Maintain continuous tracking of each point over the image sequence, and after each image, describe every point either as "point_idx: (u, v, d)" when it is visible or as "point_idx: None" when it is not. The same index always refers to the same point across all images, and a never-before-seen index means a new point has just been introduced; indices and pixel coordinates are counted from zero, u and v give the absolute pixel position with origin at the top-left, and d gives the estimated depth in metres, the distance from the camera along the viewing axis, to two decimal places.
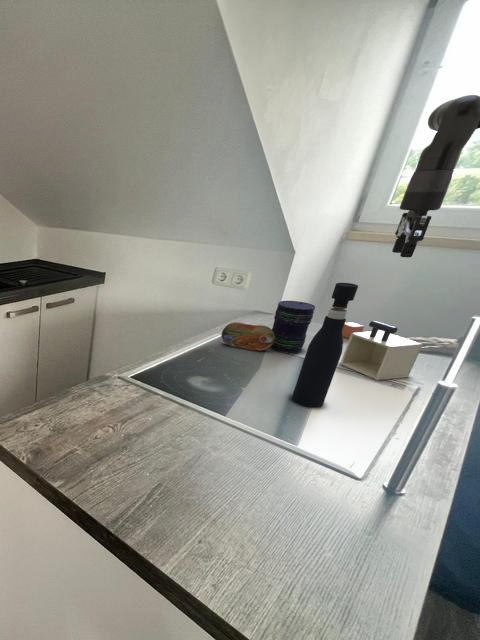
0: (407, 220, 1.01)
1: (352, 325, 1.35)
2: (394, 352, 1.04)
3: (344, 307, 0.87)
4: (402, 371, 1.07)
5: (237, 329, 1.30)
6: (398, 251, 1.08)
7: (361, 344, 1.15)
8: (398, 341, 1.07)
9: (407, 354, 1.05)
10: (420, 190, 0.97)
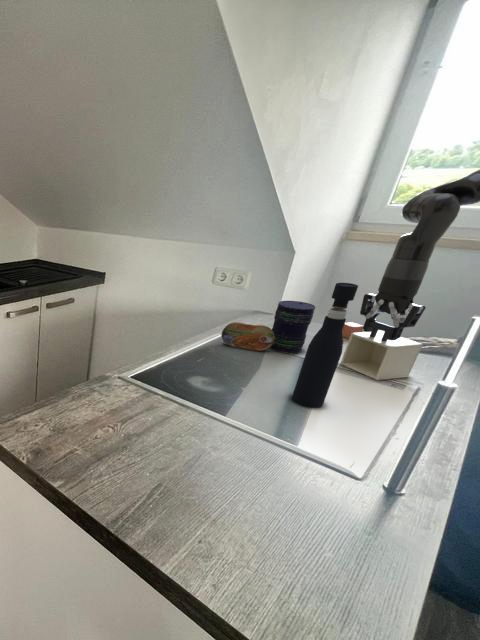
0: (394, 304, 1.02)
1: (352, 325, 1.35)
2: (394, 352, 1.04)
3: (344, 307, 0.87)
4: (402, 371, 1.07)
5: (237, 329, 1.30)
6: (369, 330, 1.11)
7: (361, 344, 1.15)
8: (398, 341, 1.07)
9: (407, 354, 1.05)
10: (411, 278, 0.98)
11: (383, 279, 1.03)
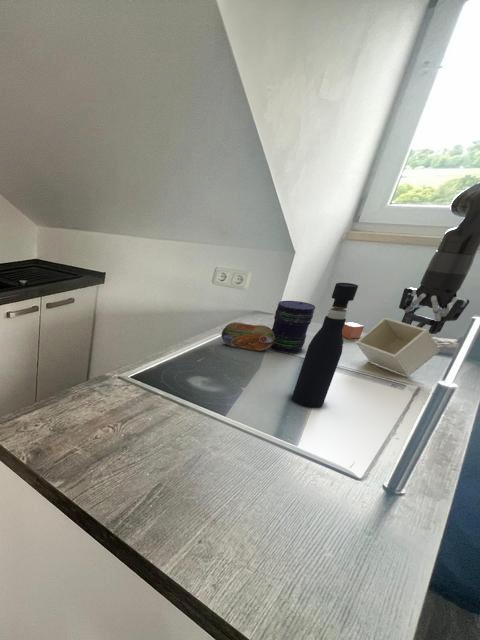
0: (437, 298, 1.03)
1: (352, 325, 1.35)
2: (424, 338, 1.04)
3: (344, 307, 0.87)
4: (410, 366, 1.07)
5: (237, 329, 1.30)
6: None
7: (381, 335, 1.15)
8: None
9: (426, 351, 1.06)
10: (456, 272, 0.99)
11: (426, 273, 1.04)
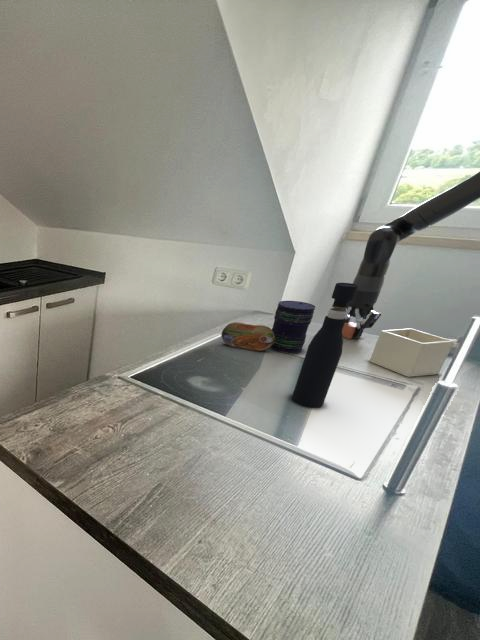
0: (359, 310, 1.32)
1: (352, 325, 1.35)
2: (446, 348, 1.06)
3: (344, 307, 0.87)
4: (418, 367, 1.08)
5: (237, 329, 1.30)
6: None
7: None
8: None
9: (435, 363, 1.08)
10: (371, 290, 1.28)
11: None
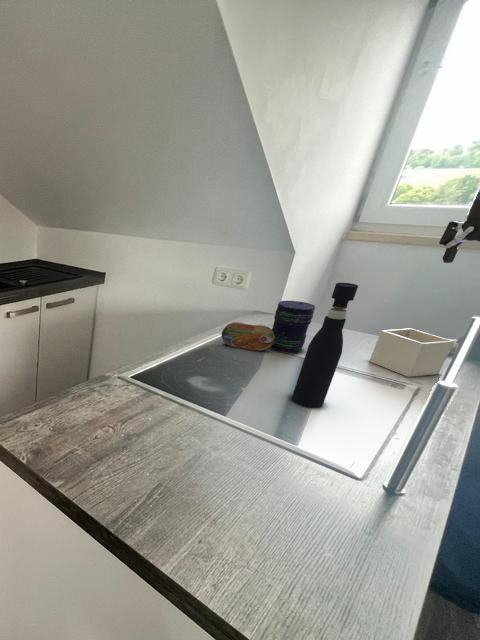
0: None
1: None
2: (446, 348, 1.06)
3: (344, 307, 0.87)
4: (418, 367, 1.08)
5: (237, 329, 1.30)
6: (449, 261, 1.04)
7: None
8: None
9: (435, 363, 1.08)
10: None
11: (474, 203, 0.96)
